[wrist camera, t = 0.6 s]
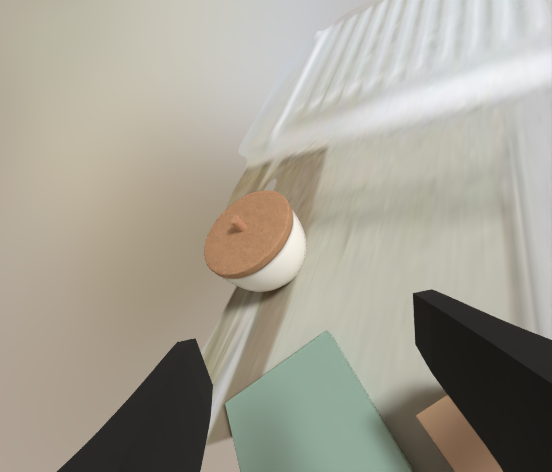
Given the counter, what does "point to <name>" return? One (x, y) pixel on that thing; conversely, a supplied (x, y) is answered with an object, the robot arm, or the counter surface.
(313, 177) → the counter surface
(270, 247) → the lidded jar
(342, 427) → the sage board
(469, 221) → the counter surface
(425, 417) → the walnut block
